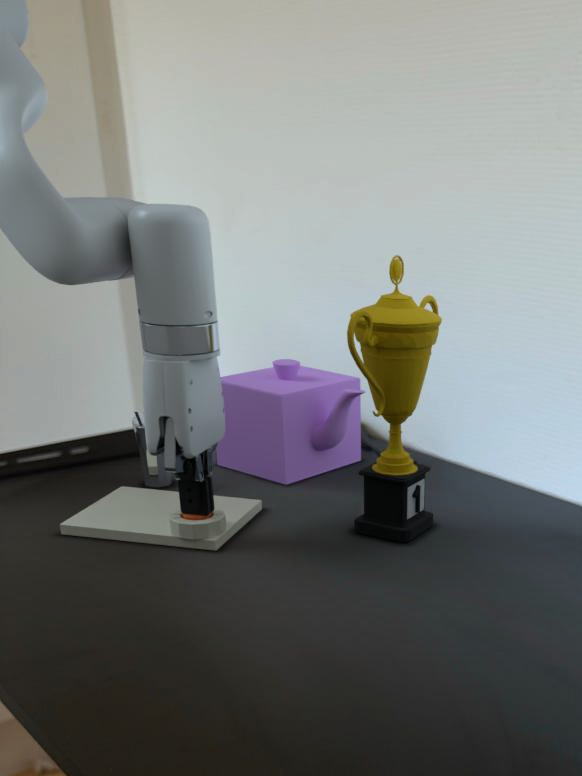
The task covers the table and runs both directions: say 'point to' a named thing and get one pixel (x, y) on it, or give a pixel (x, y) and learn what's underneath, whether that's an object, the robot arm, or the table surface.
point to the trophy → (394, 405)
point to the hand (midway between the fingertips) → (198, 512)
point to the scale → (160, 519)
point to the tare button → (195, 517)
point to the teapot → (290, 422)
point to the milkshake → (149, 457)
